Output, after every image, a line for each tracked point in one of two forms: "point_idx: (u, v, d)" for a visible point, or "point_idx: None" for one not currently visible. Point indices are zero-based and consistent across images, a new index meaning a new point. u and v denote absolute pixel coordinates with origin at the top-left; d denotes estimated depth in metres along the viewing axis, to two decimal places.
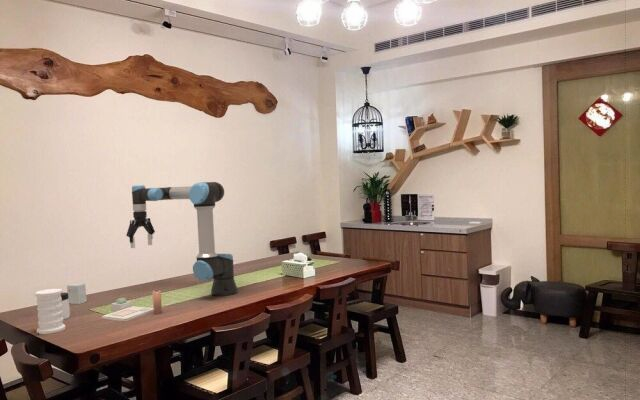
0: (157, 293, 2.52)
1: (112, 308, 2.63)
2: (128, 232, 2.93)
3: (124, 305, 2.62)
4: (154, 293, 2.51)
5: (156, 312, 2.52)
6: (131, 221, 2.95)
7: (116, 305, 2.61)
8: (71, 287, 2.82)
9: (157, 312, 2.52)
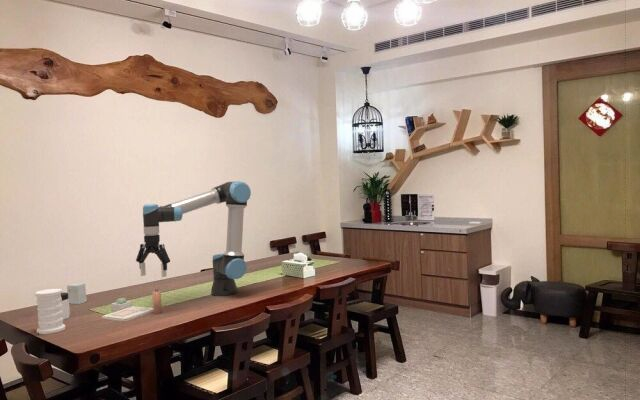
0: (157, 293, 2.52)
1: (112, 308, 2.63)
2: None
3: (124, 305, 2.62)
4: (154, 293, 2.51)
5: (156, 312, 2.52)
6: None
7: (116, 305, 2.61)
8: (71, 287, 2.82)
9: (157, 312, 2.52)
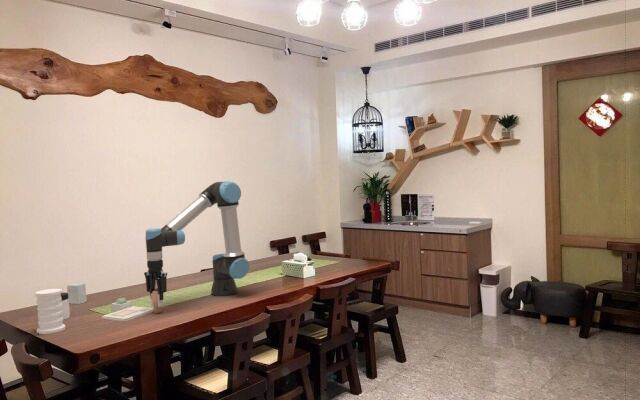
0: (157, 292, 2.52)
1: (112, 308, 2.63)
2: None
3: (124, 305, 2.62)
4: (154, 293, 2.51)
5: (156, 311, 2.52)
6: None
7: (116, 305, 2.61)
8: (71, 287, 2.82)
9: (157, 311, 2.52)
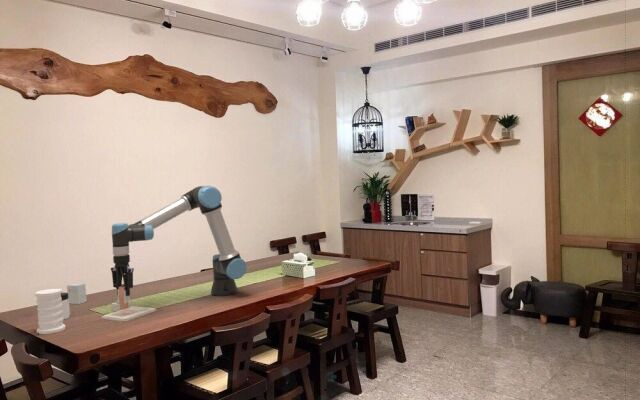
0: (123, 288, 2.47)
1: (112, 308, 2.63)
2: None
3: None
4: (120, 288, 2.46)
5: (122, 307, 2.47)
6: None
7: (116, 305, 2.61)
8: (71, 287, 2.82)
9: (123, 307, 2.47)
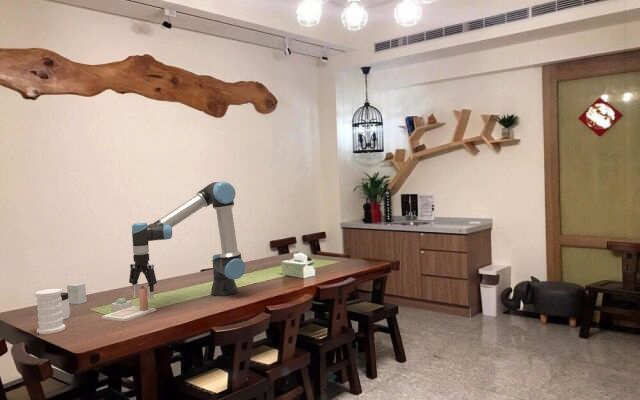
0: (143, 290, 2.54)
1: (112, 308, 2.63)
2: None
3: (124, 305, 2.62)
4: (140, 291, 2.54)
5: (142, 309, 2.54)
6: None
7: (116, 305, 2.61)
8: (71, 287, 2.82)
9: (143, 309, 2.54)
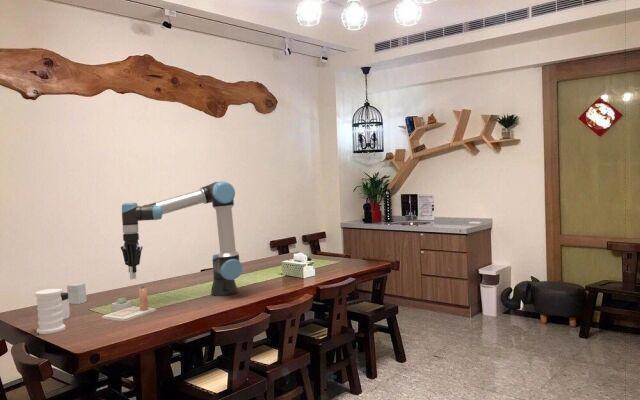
0: (143, 290, 2.54)
1: (112, 308, 2.63)
2: None
3: (124, 305, 2.62)
4: (140, 290, 2.54)
5: (142, 309, 2.54)
6: None
7: (116, 305, 2.61)
8: (71, 287, 2.82)
9: (143, 309, 2.54)
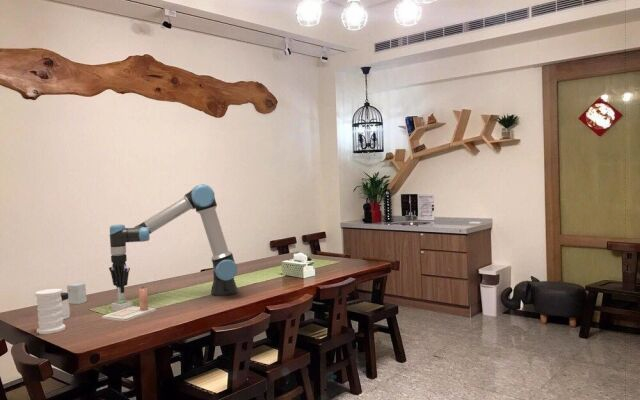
0: (143, 290, 2.54)
1: (112, 308, 2.63)
2: None
3: (124, 305, 2.62)
4: (140, 290, 2.54)
5: (142, 309, 2.54)
6: None
7: (116, 305, 2.61)
8: (71, 287, 2.82)
9: (143, 309, 2.54)
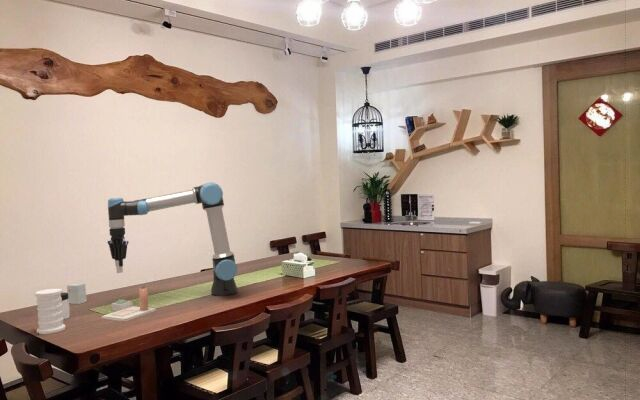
0: (143, 290, 2.54)
1: (112, 308, 2.63)
2: None
3: (124, 305, 2.62)
4: (140, 290, 2.54)
5: (142, 309, 2.54)
6: None
7: (116, 305, 2.61)
8: (71, 287, 2.82)
9: (143, 309, 2.54)
